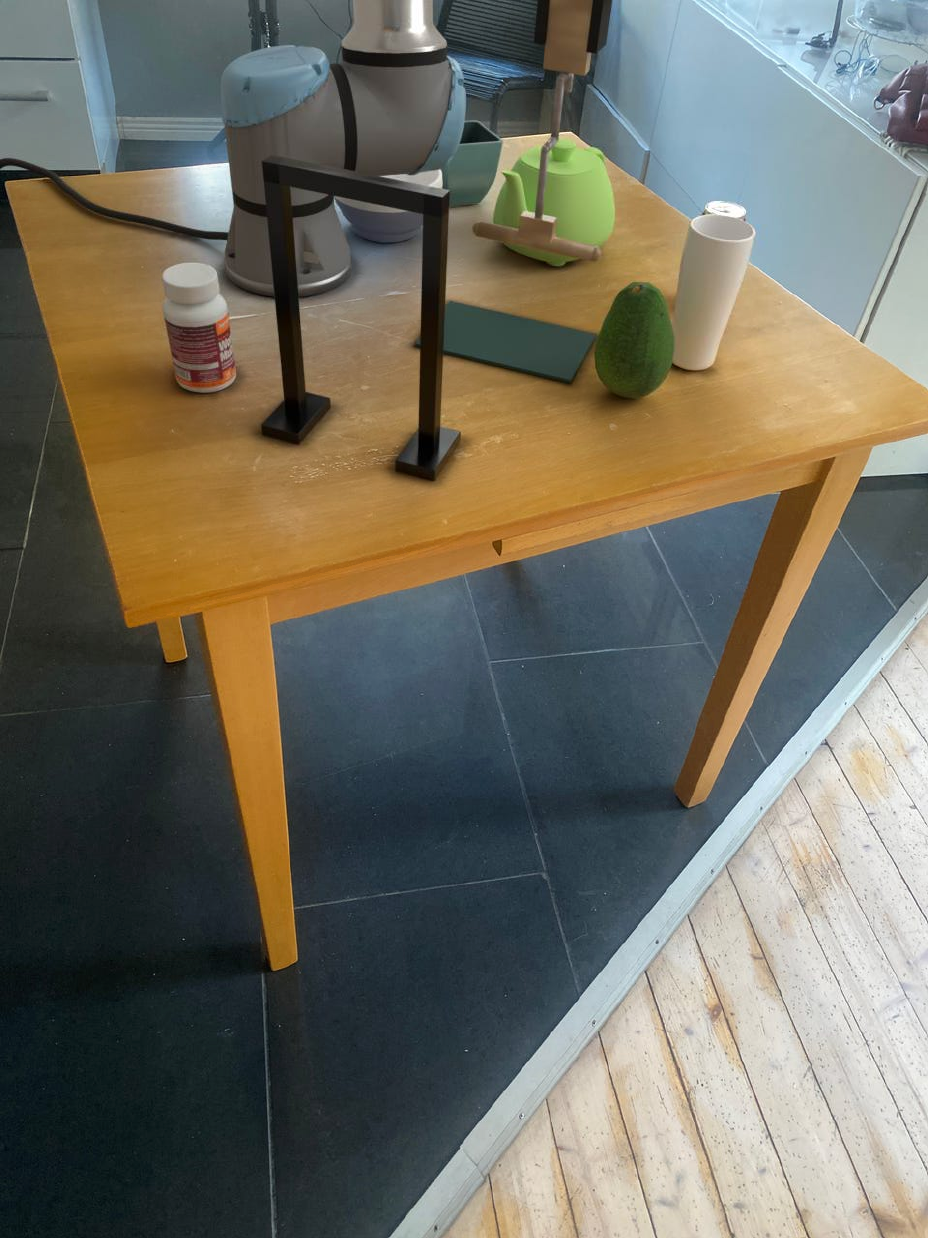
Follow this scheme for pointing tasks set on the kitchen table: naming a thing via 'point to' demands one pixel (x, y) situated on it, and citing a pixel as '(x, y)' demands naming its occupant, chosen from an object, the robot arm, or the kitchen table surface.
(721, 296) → the drinking glass
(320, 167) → the rack
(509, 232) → the hanger
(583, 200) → the teapot
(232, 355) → the pill bottle
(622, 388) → the fruit
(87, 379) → the kitchen table surface
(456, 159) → the flower pot
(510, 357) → the mat
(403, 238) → the bowl
